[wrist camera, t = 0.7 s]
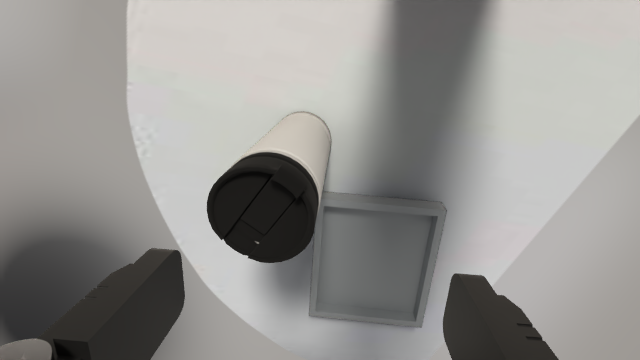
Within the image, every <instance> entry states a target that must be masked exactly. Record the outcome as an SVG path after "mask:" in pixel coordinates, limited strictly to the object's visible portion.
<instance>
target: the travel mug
mask: <svg viewBox="0 0 640 360" xmlns="http://www.w3.org/2000/svg"><path fill="white" fill-rule="evenodd" d="M330 148H331V134H330V131H329V128H328V126H327V125H326V123H325V122H324V121H323V120H322V119H321V118H320V117H318V116H316V115H315V114H312V113H309V112H295V113H292V114H290V115H287V116H286V117H285V118H283V119H282V120H281V121H280V122H279V123H278V124H277V125H276V126H275V127H273V128H272V129H271V130H270V131H269V132H268V133H267V134H266V135H265V136H264V137H262V138H261V139H260V140H259V141H258V142H257V143H256V144H255V145H254V146H253V147H251V148H250V149H249V150H248V151H247V152H246V153H245V154H244V155H243V156H242V157H240V158H239V159H238V160H237V161H236V162H235V163H234V164H233V165H232V166H231V168H230V169H229V170H228V171H227V172H225V173H224V174H223V175H222V176H221V177H220V178H219V179H218V180H217V181H216V183H215V184H214V185H213V187H212V189H211V191H210V193H209V196H208V200H207V214H208V219H209V222H210V224H211V227H212V229H213V230H214V232H215V233H216V234H217V235H218V236H219V238H220V239H221V240H222V239H224V241H225V242H226V244H227V245H229V246H230V247H231V248H232V249H234V250H235V251H237V252H239V253H241V254H242V255H247V256H248V258H250V259H253V260H256V261H259V262H264V263H275V262H282V261H285V260H288V259H291V258H293V257H294V256H296V255H298V254H299V253H300V252H302V251H303V250H304V249H305V248H306V246H307V245H308V244H309V242H310V240H311V238H312V236H313V233H314V228H315V223H316V217H317V215H318V212H319V206H320V201H321V196H322V190H323V185H324V180H325V174H326V169H327V164H328V158H329V153H330Z"/></svg>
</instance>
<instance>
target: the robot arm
mask: <svg viewBox="0 0 640 360" xmlns="http://www.w3.org/2000/svg"><path fill="white" fill-rule="evenodd" d="M184 299H185V292H184V281H183V270H182V259H181V254H180V252H179V251H178V250H167V249H156V248H152V249H149V250H148V251H147V252H146V253H145V254H144V255H143V256H142V257H140V258H139V259H138V260H137V261H136V262H135V263H134V264H129V265H127V266H125V267H123V268H121V269H119V270H117V271H115V272H113V273H111V274H110V275H109V276H108V277H107V278H106V279H105V280H103V281H102V282H101V283H100V284H99V285H98V286H97V288H94V289H93V290H92V291H91V292H90V293H89V294H87V295H86V296H85V299H82V300H80V301H79V303H77V304H76V305H75V306H74V307H72V308H71V309H70V310H69V311H68V312H67V313H66V314H65V315H63V316H62V317H61V318H60V319H59V320H58V321H56V322H55V323H54V324H53V325H52V326H51V327H50V328H48V329H47V330H46V331H45V332H44V333H43V334H42V335H41V336H39V337H38V338H37V339H26V340H20V341H16V342H12V343H9V344H6V345H3V346H1V347H0V360H150V359H151V358H152V356H153V354H154V353H155V351H156V350H157V349H158V347H159V346H160V344H161V343H162V341H163V340H164V338H165V337H166V335H167V334H168V332H169V331H170V329H171V328H172V326H173V325H174V323H175V322H176V320H177V319H178V317H179V315H180V313H181V311H182V308H183V305H184ZM443 333H444V338H445V342H446V345H447V347H448V350H449V353H450V355H451V358H452V360H558V358H557V357H556V356H555V354H554V353H553V351H552V350H551V349H550V347H549V346H548V345H547V343H546V342H545V341H543V340H542V337H541V335H540V334H539V333H538V331H537V330H536V329H535V328H533V327H532V323H531V322H530V321H529V319H528V318H527V317H526V315H525V314H524V313H523V311H522V310H521V309H520V308H519V307H518V306H516V305H515V304H514V303H512V302H511V301H510V300H509V299H507V298H506V297H505V296H502V295H497V294H496V293H495V291H494V290H493V289H492V287H491V285H490V284H489V283H488V281H487V280H486V278H485V277H484V276H481V275H469V274H454V275H453V276H452V279H451V283H450V288H449V293H448V298H447V302H446V307H445V312H444V317H443Z"/></svg>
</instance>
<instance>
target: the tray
mask: <svg viewBox="0 0 640 360" xmlns="http://www.w3.org/2000/svg"><path fill="white" fill-rule="evenodd" d="M446 212H447V210H446V208H445V207H444V205H443V204H442V202H434V201H423V200H412V199H401V198H389V197H378V196H367V195H356V194H345V193H334V192H323V191H322V196H321V201H320V206H319V212H318V215H317V217H316V223H315V235H314V249H313V264H312V279H311V293H310V308H309V316H317V317H327V318H336V319H345V320H354V321H364V322H373V323H382V324H391V325H401V326H410V327H419V328H422V323H423V319H424V314H425V309H426V305H427V300H428V295H429V291H430V286H431V281H432V277H433V272H434V268H435V263H436V258H437V254H438V249H439V244H440V240H441V235H442V231H443V226H444V221H445V217H446Z"/></svg>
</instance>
